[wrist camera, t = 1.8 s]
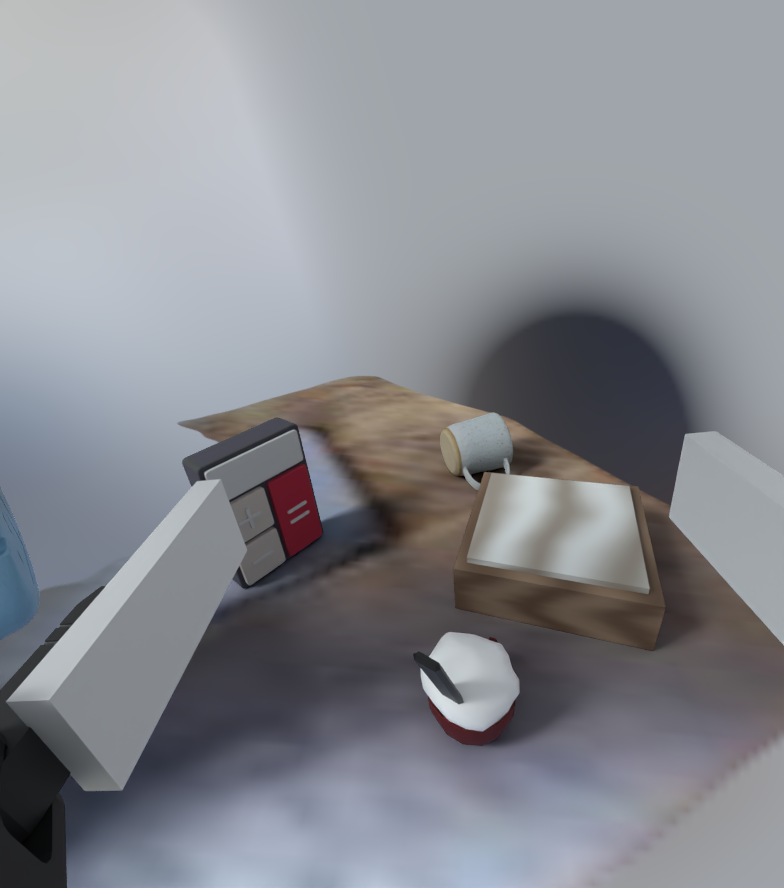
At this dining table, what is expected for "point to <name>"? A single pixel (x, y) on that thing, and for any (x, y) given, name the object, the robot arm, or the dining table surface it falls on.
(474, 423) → the ceramic mug
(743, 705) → the dining table surface
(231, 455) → the calculator
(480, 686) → the cocoa
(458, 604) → the walnut stand
